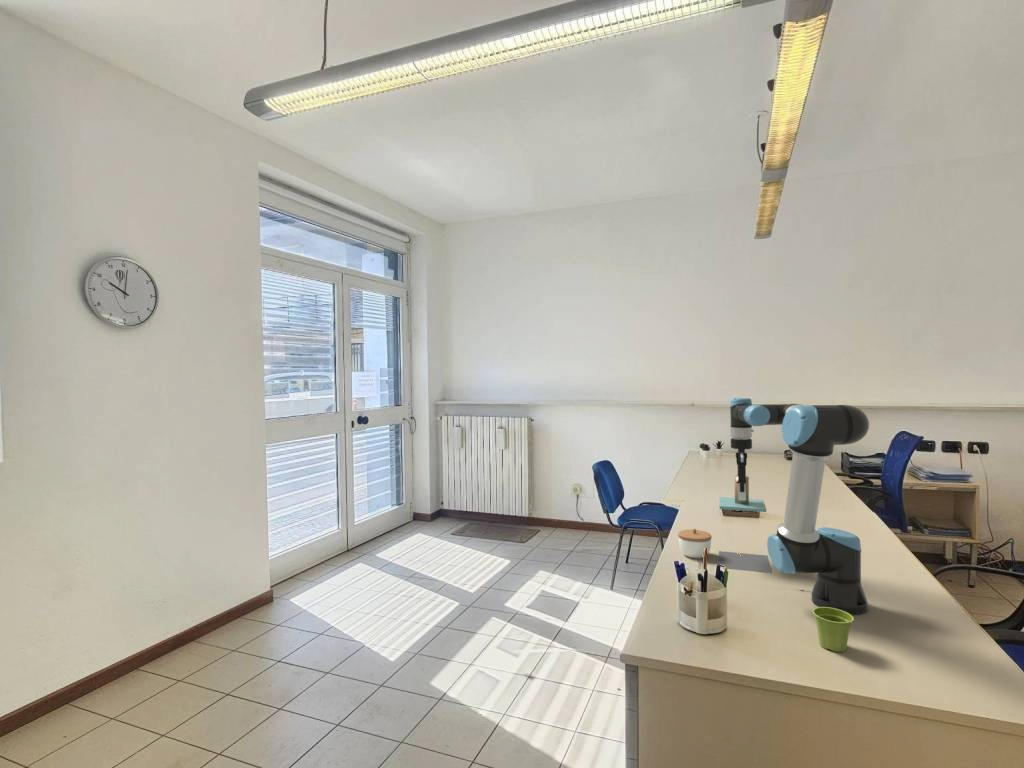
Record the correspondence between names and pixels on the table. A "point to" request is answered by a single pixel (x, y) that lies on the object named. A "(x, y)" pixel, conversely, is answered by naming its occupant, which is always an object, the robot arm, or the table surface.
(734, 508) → the cover board
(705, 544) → the lidded bowl
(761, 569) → the mat
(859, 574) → the robot arm
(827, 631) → the plant pot
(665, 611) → the table surface
